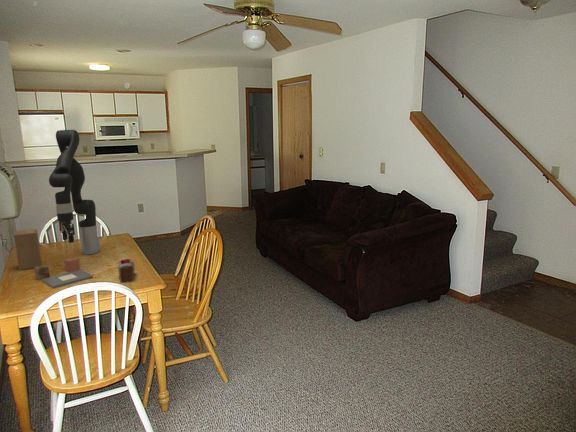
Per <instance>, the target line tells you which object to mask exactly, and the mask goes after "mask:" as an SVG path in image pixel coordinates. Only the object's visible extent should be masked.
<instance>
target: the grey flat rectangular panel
mask: <svg viewBox="0 0 576 432" xmlns="http://www.w3.org/2000/svg"><path fill="white" fill-rule="evenodd" d="M93 278H94V276H93V274H90V273H89V272H86V271H84V270H82V269H80V270H76V271H72V272H68V271H67V272H64V273H61V274H57V275H53V276H50V277H48V278H44V279H42V280H41V282H43V283H44V284H46V285H47V286H49V287H50V288H52V289H56V288H59V287H63V286H67V285H71V284H75V283H79V282H82V281H85V280H91V279H93Z"/></svg>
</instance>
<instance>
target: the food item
mask: <svg viewBox="0 0 576 432" xmlns="http://www.w3.org/2000/svg"><path fill="white" fill-rule="evenodd" d="M117 268H118V276H119V280H120V281H121V282H122V283H126V282H133V281H134V280H135V268H136V267H135V262H134V261H133V260H132V259H131V258H130V259H129V258H125V259H120V260H119V261H118V267H117Z"/></svg>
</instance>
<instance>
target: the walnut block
mask: <svg viewBox="0 0 576 432" xmlns="http://www.w3.org/2000/svg"><path fill="white" fill-rule="evenodd" d="M33 269H34V274H35V279H37V280H38V281H42V279H44V278H48V277H51V275H50V269H49V265H46V264H41V265H40V266H36V267H34V268H33Z"/></svg>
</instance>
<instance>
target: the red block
mask: <svg viewBox="0 0 576 432" xmlns="http://www.w3.org/2000/svg"><path fill="white" fill-rule="evenodd" d="M63 263H64V264H63V265H64V270H65V271H66V272H67V273H68V272H72V271H76V270H80V260H79V258H77V257H75V256H74V257H69V258H65V259H63Z"/></svg>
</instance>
